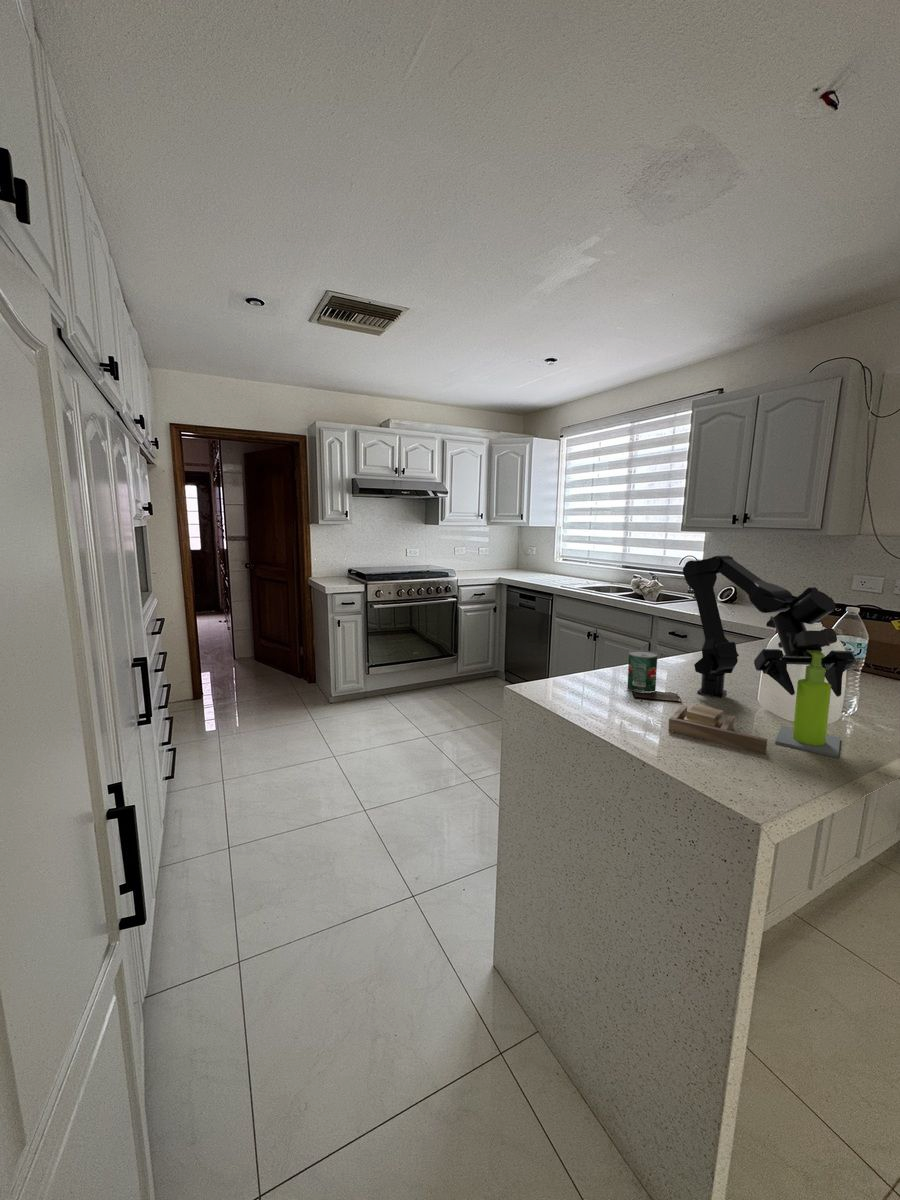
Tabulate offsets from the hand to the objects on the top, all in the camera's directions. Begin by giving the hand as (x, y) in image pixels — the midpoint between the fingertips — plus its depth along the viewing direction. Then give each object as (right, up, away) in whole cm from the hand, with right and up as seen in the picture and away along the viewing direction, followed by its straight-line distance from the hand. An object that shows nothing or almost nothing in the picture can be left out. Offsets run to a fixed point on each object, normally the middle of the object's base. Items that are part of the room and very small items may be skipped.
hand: (816, 695), depth 106 cm
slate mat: (0, -11, +3) cm, 11 cm away
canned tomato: (-23, -6, +39) cm, 45 cm away
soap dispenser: (0, -10, +3) cm, 11 cm away
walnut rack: (-17, -10, +8) cm, 21 cm away
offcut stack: (-20, -10, +10) cm, 24 cm away
